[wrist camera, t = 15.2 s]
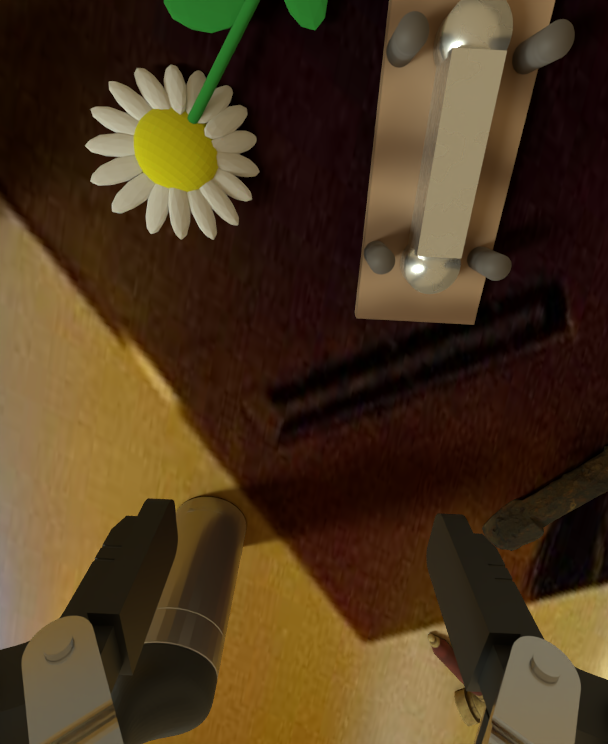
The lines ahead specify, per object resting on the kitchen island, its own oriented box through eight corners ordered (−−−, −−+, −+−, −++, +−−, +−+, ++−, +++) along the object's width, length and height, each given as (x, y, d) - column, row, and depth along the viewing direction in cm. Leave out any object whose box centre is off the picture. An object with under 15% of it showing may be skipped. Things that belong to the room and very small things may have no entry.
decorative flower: (273, -269, 25) (76, 177, 32) (275, -376, 20) (47, 171, 28) (426, -101, 28) (216, 265, 36) (457, -160, 24) (209, 272, 31)
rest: (468, 319, 38) (490, 340, 34) (354, 313, 38) (360, 333, 34) (557, -47, 27) (611, -97, 22) (395, -56, 27) (413, -107, 22)
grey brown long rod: (617, 429, 44) (649, 456, 40) (632, 452, 45) (664, 479, 41) (469, 512, 50) (482, 543, 46) (486, 530, 51) (501, 561, 47)
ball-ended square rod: (504, 6, 27) (529, -16, 24) (445, 288, 36) (458, 298, 33) (439, 3, 27) (456, -20, 24) (396, 285, 36) (404, 295, 33)
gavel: (403, 662, 59) (464, 639, 56) (398, 632, 63) (455, 609, 61) (472, 732, 65) (531, 714, 62) (464, 699, 69) (518, 682, 66)
